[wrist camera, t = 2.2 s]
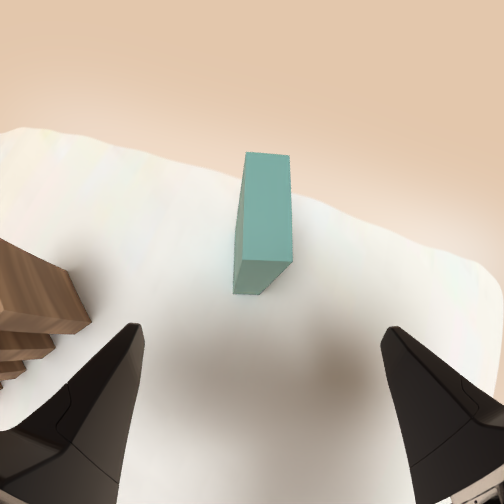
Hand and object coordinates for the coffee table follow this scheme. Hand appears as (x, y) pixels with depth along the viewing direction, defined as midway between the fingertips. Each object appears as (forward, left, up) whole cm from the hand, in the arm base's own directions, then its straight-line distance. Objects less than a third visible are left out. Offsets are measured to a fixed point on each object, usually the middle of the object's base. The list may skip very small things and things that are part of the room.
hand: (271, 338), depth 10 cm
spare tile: (+2, -5, -12) cm, 13 cm away
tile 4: (+14, +3, -12) cm, 19 cm away
